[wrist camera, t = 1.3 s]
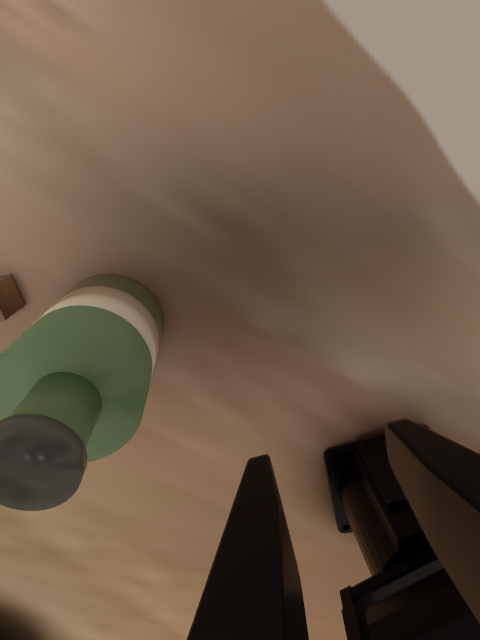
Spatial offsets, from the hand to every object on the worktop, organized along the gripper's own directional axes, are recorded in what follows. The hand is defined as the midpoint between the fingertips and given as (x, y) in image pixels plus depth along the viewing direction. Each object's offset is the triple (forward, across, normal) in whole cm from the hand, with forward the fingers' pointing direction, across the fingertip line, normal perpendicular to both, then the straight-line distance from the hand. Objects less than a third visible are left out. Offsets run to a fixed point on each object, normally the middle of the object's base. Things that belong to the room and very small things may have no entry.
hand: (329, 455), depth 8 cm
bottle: (+12, +7, 0) cm, 14 cm away
